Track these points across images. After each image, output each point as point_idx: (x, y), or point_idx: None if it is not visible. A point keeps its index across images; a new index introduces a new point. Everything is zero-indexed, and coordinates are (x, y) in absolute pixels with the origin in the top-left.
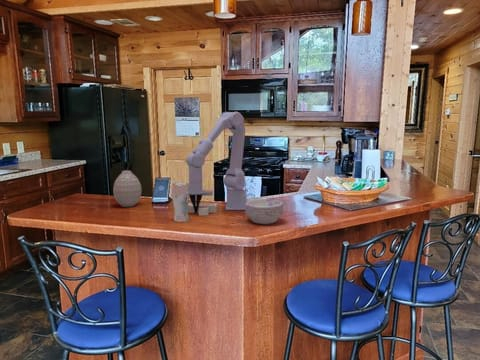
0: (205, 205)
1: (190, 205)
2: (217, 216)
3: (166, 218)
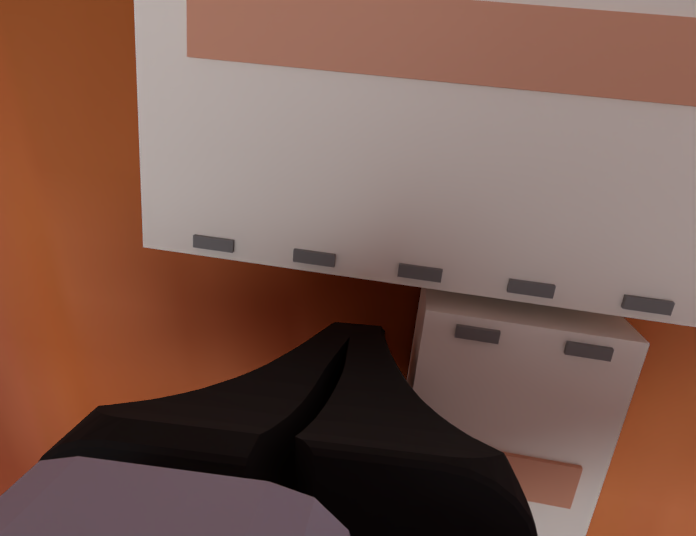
0: (577, 249)
1: (213, 201)
2: (687, 517)
3: (2, 467)
